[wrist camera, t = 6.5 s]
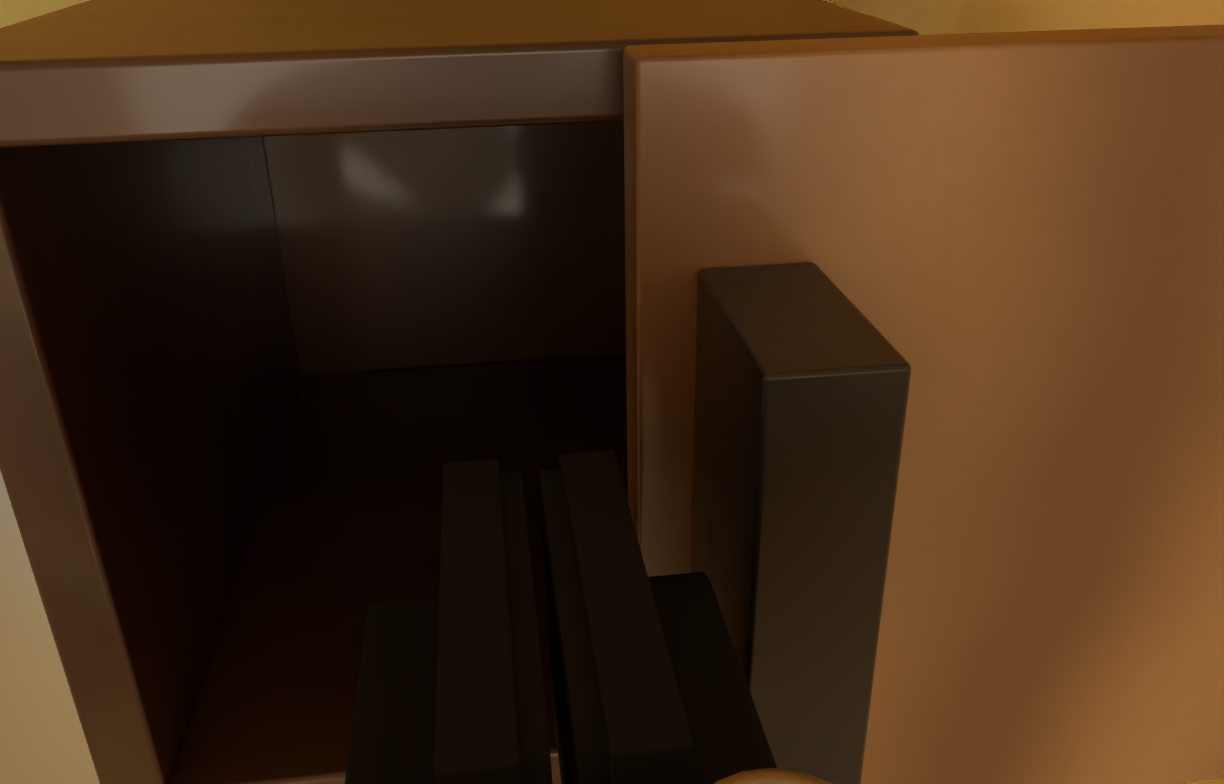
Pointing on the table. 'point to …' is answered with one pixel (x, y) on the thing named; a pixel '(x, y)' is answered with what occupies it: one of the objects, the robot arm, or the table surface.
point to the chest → (302, 330)
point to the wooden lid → (941, 391)
